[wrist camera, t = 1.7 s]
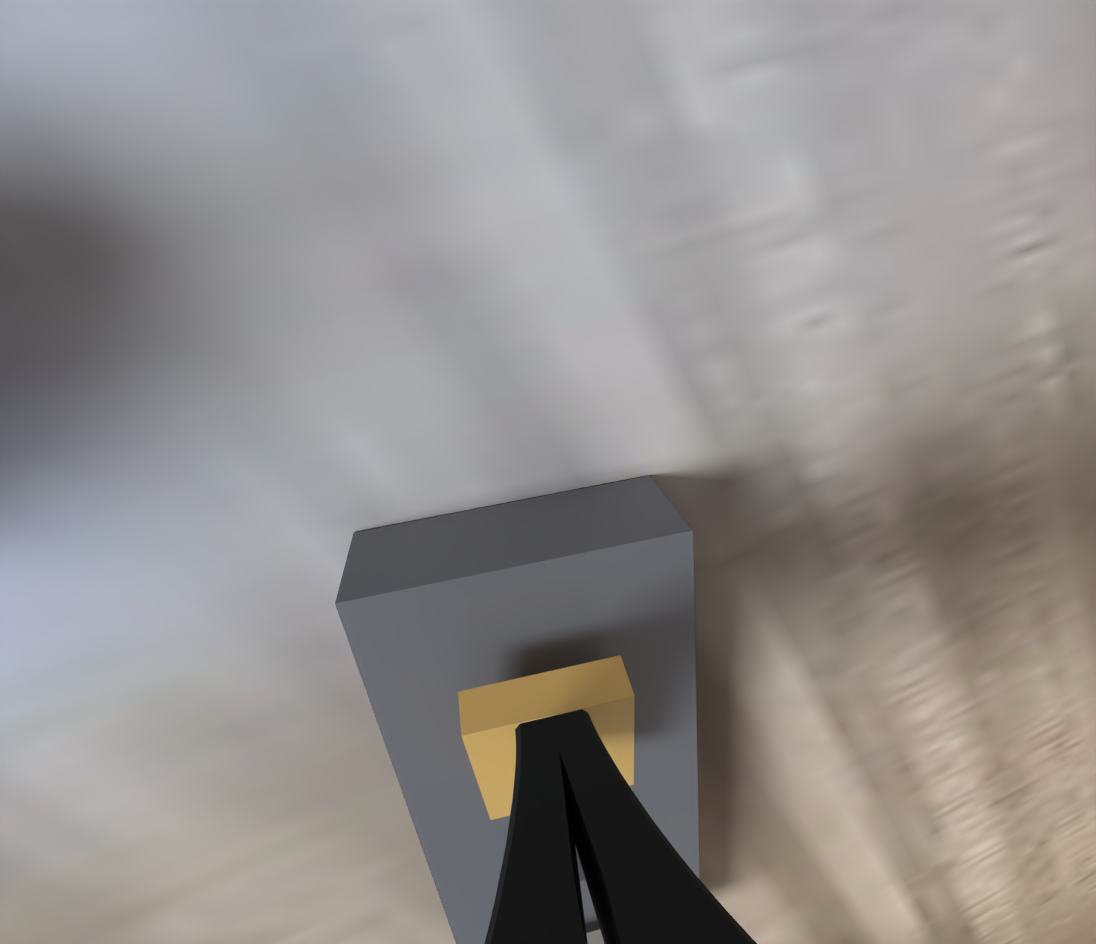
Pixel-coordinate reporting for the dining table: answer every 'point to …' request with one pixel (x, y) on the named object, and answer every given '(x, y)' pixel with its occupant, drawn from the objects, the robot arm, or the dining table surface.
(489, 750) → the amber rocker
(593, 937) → the white plug
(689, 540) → the power strip
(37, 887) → the dining table surface
